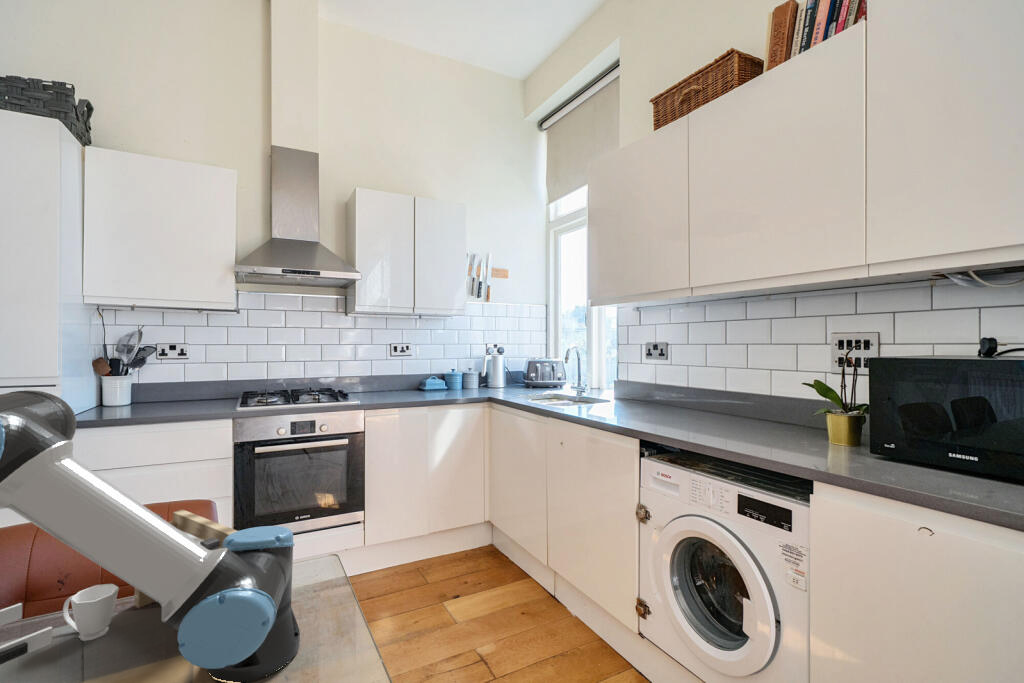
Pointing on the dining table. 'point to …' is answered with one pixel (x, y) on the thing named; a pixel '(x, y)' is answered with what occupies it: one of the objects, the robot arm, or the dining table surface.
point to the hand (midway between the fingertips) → (36, 621)
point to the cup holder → (199, 531)
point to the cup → (92, 610)
